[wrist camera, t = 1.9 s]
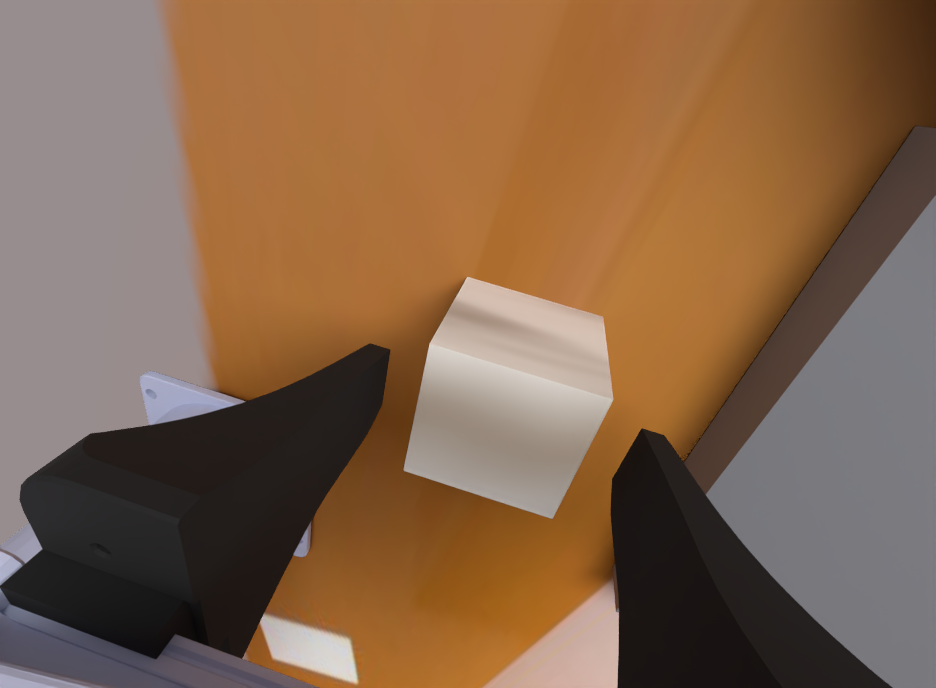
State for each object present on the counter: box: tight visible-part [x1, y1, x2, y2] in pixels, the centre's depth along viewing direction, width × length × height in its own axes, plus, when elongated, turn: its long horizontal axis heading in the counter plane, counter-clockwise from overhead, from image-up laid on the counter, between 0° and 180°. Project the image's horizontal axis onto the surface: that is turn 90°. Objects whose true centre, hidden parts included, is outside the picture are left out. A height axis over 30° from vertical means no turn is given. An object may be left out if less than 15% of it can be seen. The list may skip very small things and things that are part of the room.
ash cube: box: [403, 277, 613, 519], centre depth 14 cm, size 4×4×4 cm
